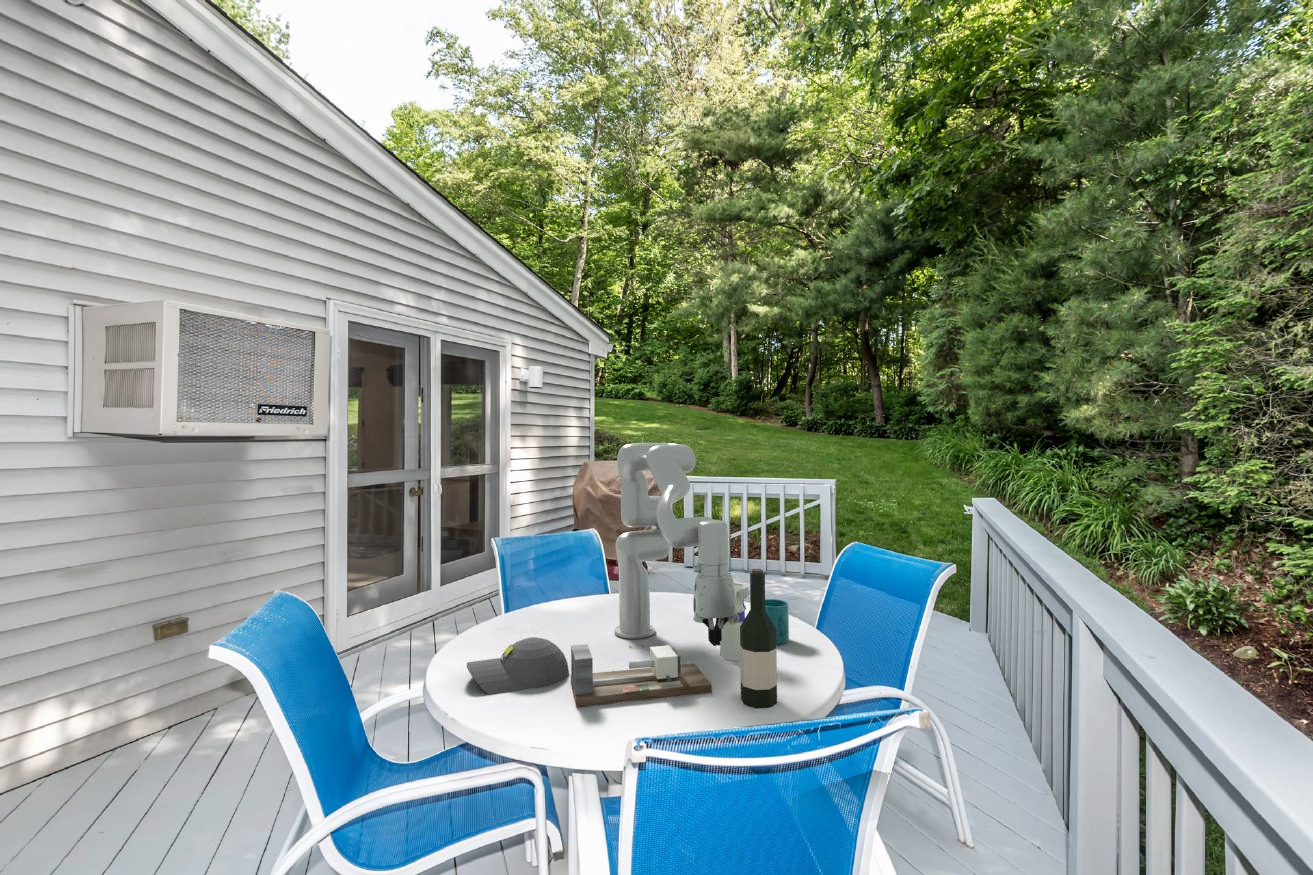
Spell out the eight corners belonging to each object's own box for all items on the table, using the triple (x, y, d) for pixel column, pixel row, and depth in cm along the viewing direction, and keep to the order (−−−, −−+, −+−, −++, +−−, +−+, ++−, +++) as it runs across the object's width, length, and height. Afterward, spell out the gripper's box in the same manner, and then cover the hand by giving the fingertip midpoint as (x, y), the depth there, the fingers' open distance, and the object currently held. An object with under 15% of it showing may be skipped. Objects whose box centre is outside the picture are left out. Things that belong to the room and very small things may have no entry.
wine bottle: (779, 695, 141) (778, 567, 141) (774, 711, 133) (773, 574, 134) (744, 691, 144) (742, 565, 144) (737, 706, 136) (735, 572, 136)
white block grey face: (626, 669, 150) (626, 648, 150) (673, 664, 153) (673, 644, 153) (634, 685, 140) (634, 663, 140) (684, 680, 142) (684, 659, 143)
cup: (773, 650, 172) (773, 610, 172) (752, 637, 183) (752, 600, 184) (800, 646, 175) (800, 607, 175) (778, 634, 187) (778, 597, 187)
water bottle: (749, 662, 163) (748, 569, 163) (717, 660, 165) (716, 568, 165) (750, 651, 171) (750, 563, 171) (720, 649, 173) (719, 562, 173)
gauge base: (570, 683, 150) (570, 642, 150) (694, 671, 157) (694, 632, 157) (576, 707, 136) (575, 662, 136) (711, 692, 143) (711, 650, 143)
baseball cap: (461, 664, 159) (473, 619, 160) (556, 676, 167) (567, 633, 169) (465, 692, 141) (478, 641, 142) (571, 704, 150) (583, 655, 151)
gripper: (688, 574, 146) (690, 651, 145) (747, 570, 149) (749, 646, 148) (680, 569, 153) (682, 642, 152) (736, 565, 156) (738, 637, 156)
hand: (715, 644), depth 150 cm, fingers closed
